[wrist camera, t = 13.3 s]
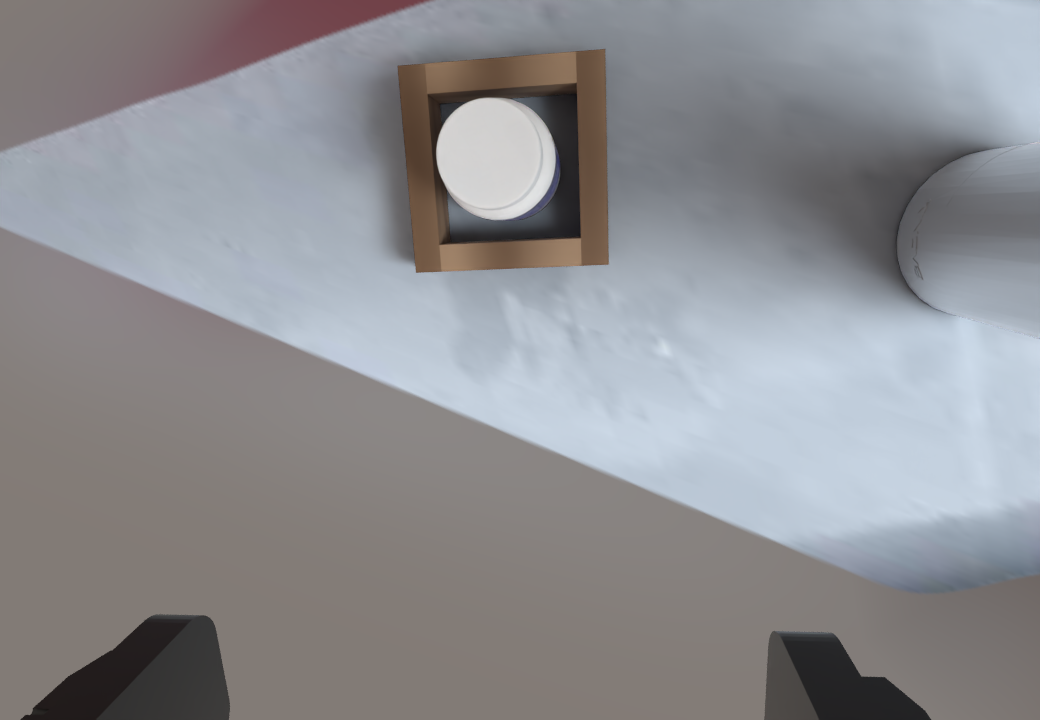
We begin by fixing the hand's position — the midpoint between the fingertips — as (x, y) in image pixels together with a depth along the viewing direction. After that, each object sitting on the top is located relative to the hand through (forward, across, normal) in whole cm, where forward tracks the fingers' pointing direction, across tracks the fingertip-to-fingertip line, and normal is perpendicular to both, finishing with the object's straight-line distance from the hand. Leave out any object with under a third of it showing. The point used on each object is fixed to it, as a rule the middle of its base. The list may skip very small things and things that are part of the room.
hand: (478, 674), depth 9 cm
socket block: (+30, +2, -9) cm, 32 cm away
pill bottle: (+30, +2, -9) cm, 32 cm away
